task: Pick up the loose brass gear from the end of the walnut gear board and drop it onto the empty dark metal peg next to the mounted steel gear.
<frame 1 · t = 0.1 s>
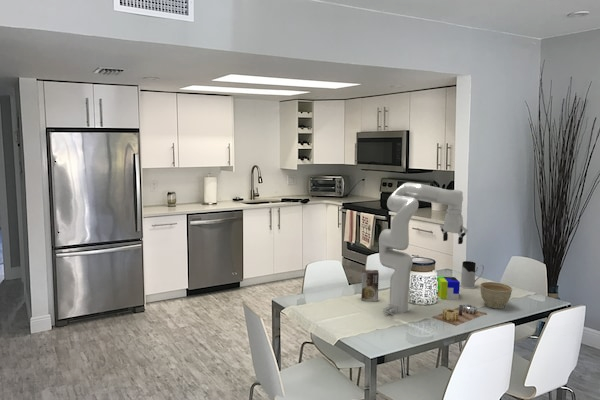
hand: (452, 242, 286), 31 cm above the table, tool pointing down, fingers open, 9 cm apart
brass gear: (450, 318, 250), point 1 cm above the table, touching gear board
coffee box: (369, 299, 281), on the table
planter bowl: (494, 306, 275), on the table
gear board: (459, 318, 255), on the table
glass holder: (471, 286, 308), on the table
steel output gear: (469, 308, 260), point 3 cm above the table, hinge at 0.0°
puzzle toy: (447, 296, 289), on the table
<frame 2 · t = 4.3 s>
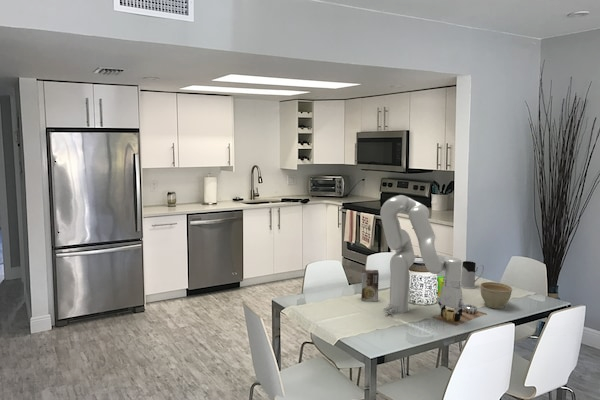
hand: (450, 318, 250), 2 cm above the table, tool pointing down, fingers closed on brass gear, 7 cm apart
brass gear: (450, 318, 250), point 2 cm above the table, touching gear board, gripper
everything else where it was.
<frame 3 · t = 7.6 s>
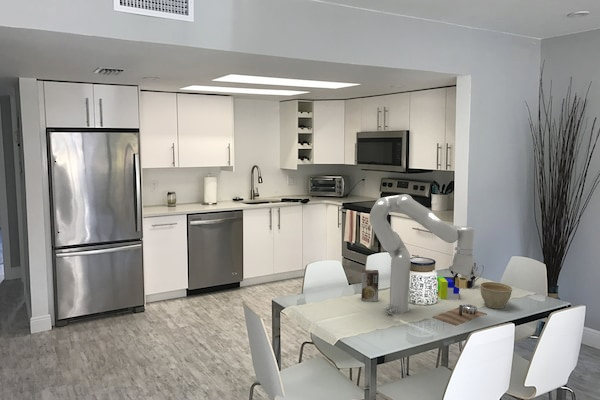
hand: (462, 285, 253), 17 cm above the table, tool pointing down, fingers closed on brass gear, 7 cm apart
brass gear: (462, 286, 253), point 16 cm above the table, touching gripper
everything else where it was.
when the fingers open (4 cm above the table, at t = 10.7 s): brass gear drops 2 cm, resting on gear board.
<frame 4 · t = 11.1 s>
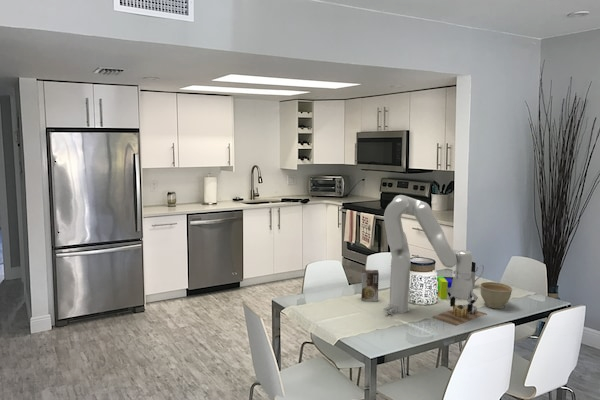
hand: (460, 308, 255), 5 cm above the table, tool pointing down, fingers open, 9 cm apart
brass gear: (459, 314, 256), point 1 cm above the table, touching gear board
everything else where it was.
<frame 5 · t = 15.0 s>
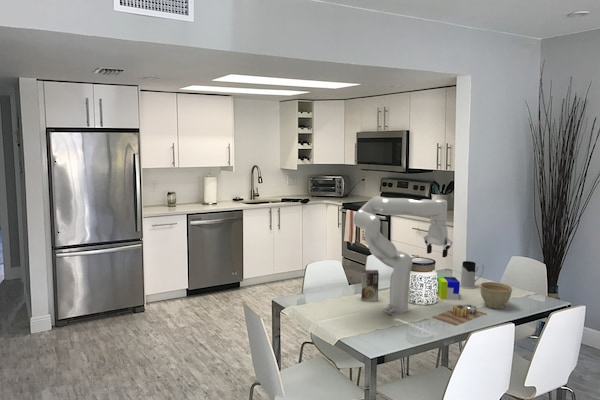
hand: (436, 255, 267), 28 cm above the table, tool pointing down, fingers open, 9 cm apart
nothing on the table moved.
at the end: brass gear 0.3 cm off-centre on the gear board, point 1.5 cm above the gear board's base; brass gear tilted 0°; the gripper is holding nothing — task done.
